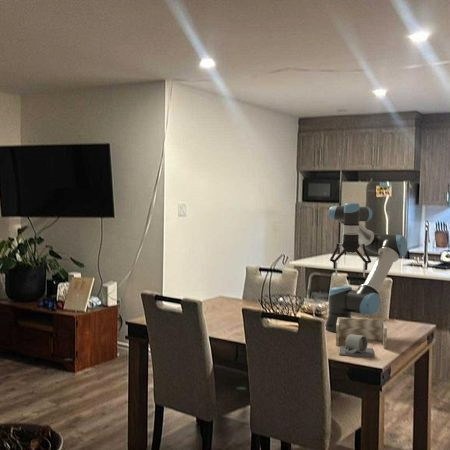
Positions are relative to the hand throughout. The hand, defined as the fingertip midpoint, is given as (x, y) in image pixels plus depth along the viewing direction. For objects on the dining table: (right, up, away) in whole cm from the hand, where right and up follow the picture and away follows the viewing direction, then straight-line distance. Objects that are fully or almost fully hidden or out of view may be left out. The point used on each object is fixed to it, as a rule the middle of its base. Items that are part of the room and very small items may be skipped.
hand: (350, 276), depth 284 cm
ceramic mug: (-3, -33, -25) cm, 41 cm away
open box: (+4, -32, -5) cm, 33 cm away
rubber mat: (-2, -33, -23) cm, 41 cm away
